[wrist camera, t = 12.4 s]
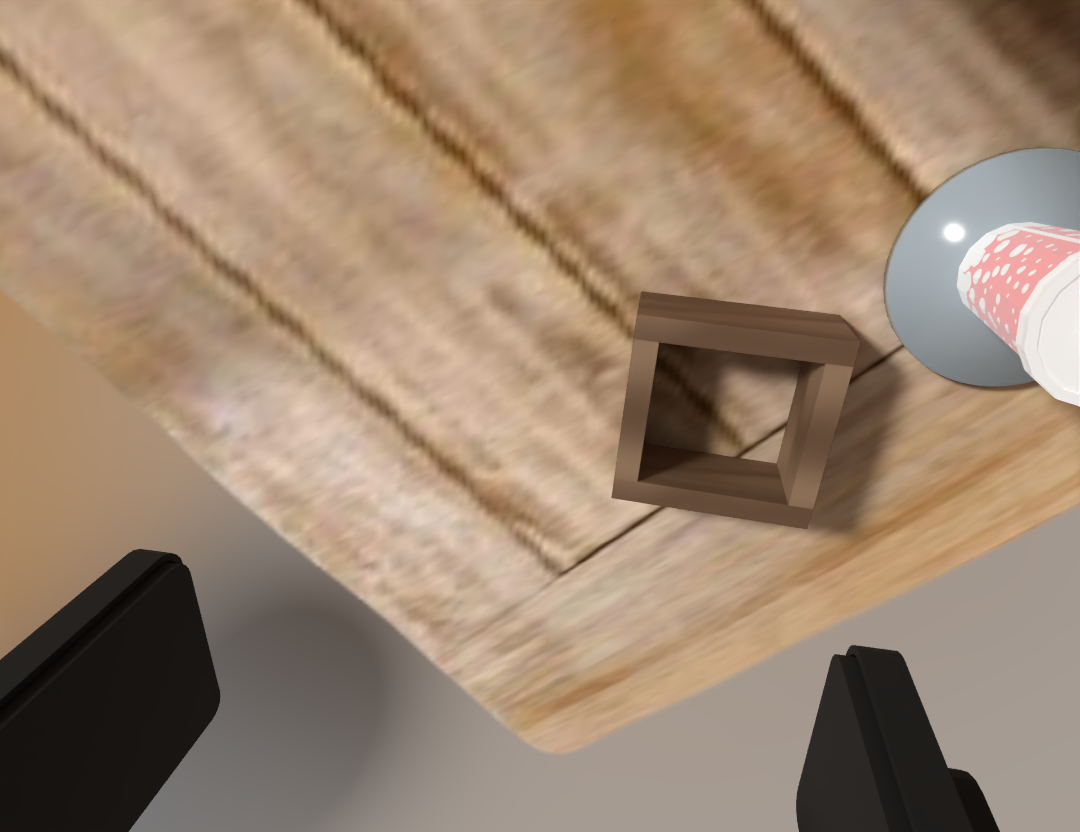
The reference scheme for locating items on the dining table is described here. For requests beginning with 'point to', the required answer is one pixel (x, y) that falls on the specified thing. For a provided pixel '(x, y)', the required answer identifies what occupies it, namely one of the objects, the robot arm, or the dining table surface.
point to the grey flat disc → (942, 243)
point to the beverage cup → (1030, 299)
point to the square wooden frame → (724, 479)
